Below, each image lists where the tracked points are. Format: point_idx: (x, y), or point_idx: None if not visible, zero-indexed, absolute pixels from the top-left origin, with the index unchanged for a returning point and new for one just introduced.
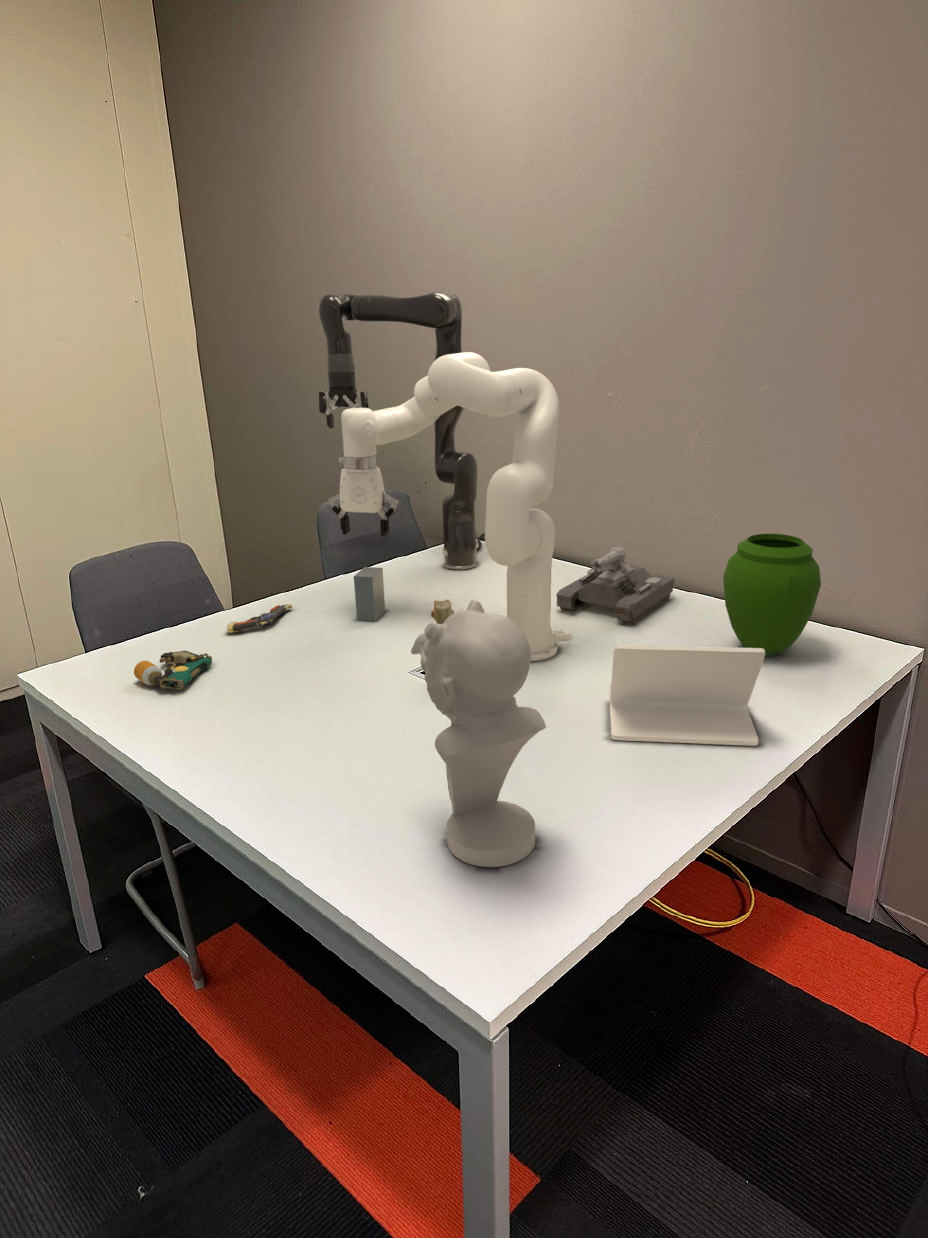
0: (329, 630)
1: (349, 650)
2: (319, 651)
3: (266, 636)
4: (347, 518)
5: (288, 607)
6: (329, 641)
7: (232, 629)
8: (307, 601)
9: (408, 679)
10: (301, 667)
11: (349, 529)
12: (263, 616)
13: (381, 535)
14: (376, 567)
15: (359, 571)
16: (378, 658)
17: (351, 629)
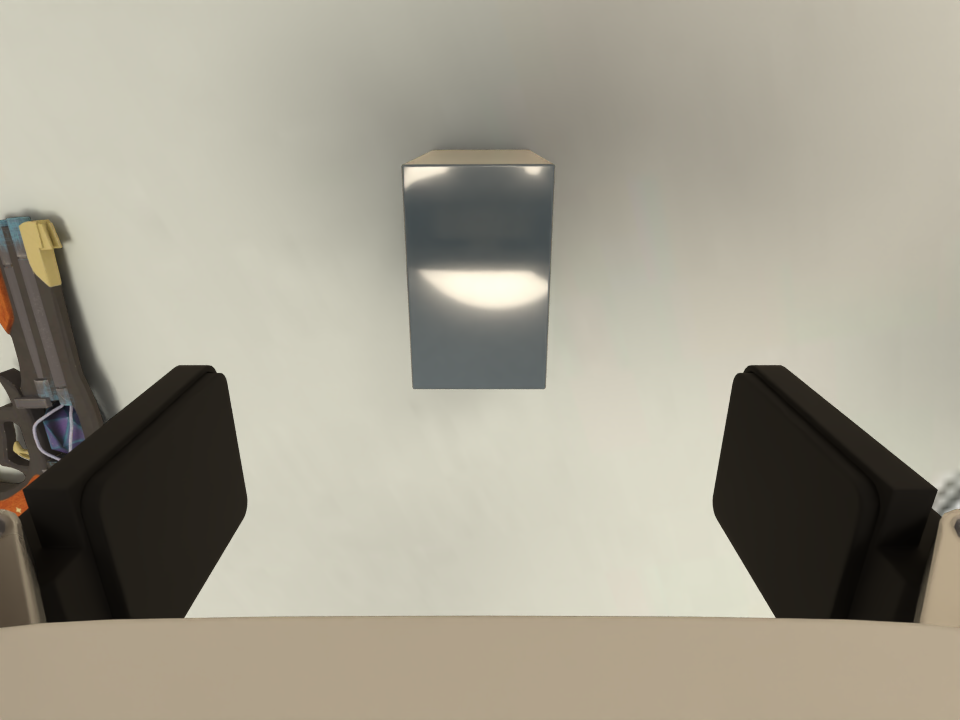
0: (368, 424)
1: (522, 572)
2: (423, 593)
3: None
4: (129, 554)
5: (48, 254)
6: (418, 517)
7: None
8: (46, 69)
9: None
10: None
11: (213, 396)
12: (48, 438)
13: (720, 511)
14: (504, 165)
15: (410, 284)
16: (639, 611)
17: (453, 401)
